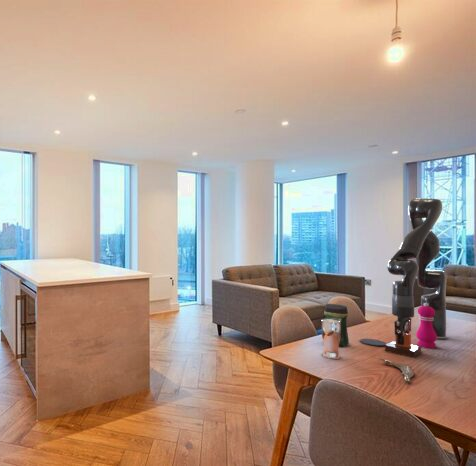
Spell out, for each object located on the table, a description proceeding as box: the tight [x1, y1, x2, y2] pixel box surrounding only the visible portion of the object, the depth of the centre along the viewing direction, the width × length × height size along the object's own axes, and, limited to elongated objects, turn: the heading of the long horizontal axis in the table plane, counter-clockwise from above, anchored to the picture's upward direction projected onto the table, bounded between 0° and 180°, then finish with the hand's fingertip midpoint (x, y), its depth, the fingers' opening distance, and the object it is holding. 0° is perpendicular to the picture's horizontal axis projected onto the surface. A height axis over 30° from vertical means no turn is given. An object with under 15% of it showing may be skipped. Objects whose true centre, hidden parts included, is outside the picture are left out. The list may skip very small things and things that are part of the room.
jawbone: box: [376, 357, 415, 384], centre depth 123 cm, size 9×20×2 cm, turn 168°
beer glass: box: [321, 318, 341, 360], centre depth 141 cm, size 7×7×15 cm
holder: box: [384, 340, 422, 358], centre depth 147 cm, size 10×10×2 cm
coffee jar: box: [323, 303, 350, 347], centre depth 158 cm, size 10×8×19 cm
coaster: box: [360, 338, 388, 348], centre depth 158 cm, size 10×10×1 cm
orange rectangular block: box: [394, 333, 412, 348], centre depth 147 cm, size 2×5×8 cm, turn 36°
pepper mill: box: [415, 303, 438, 349], centre depth 154 cm, size 7×7×20 cm
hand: (403, 342), depth 147 cm, fingers open, 6 cm apart
